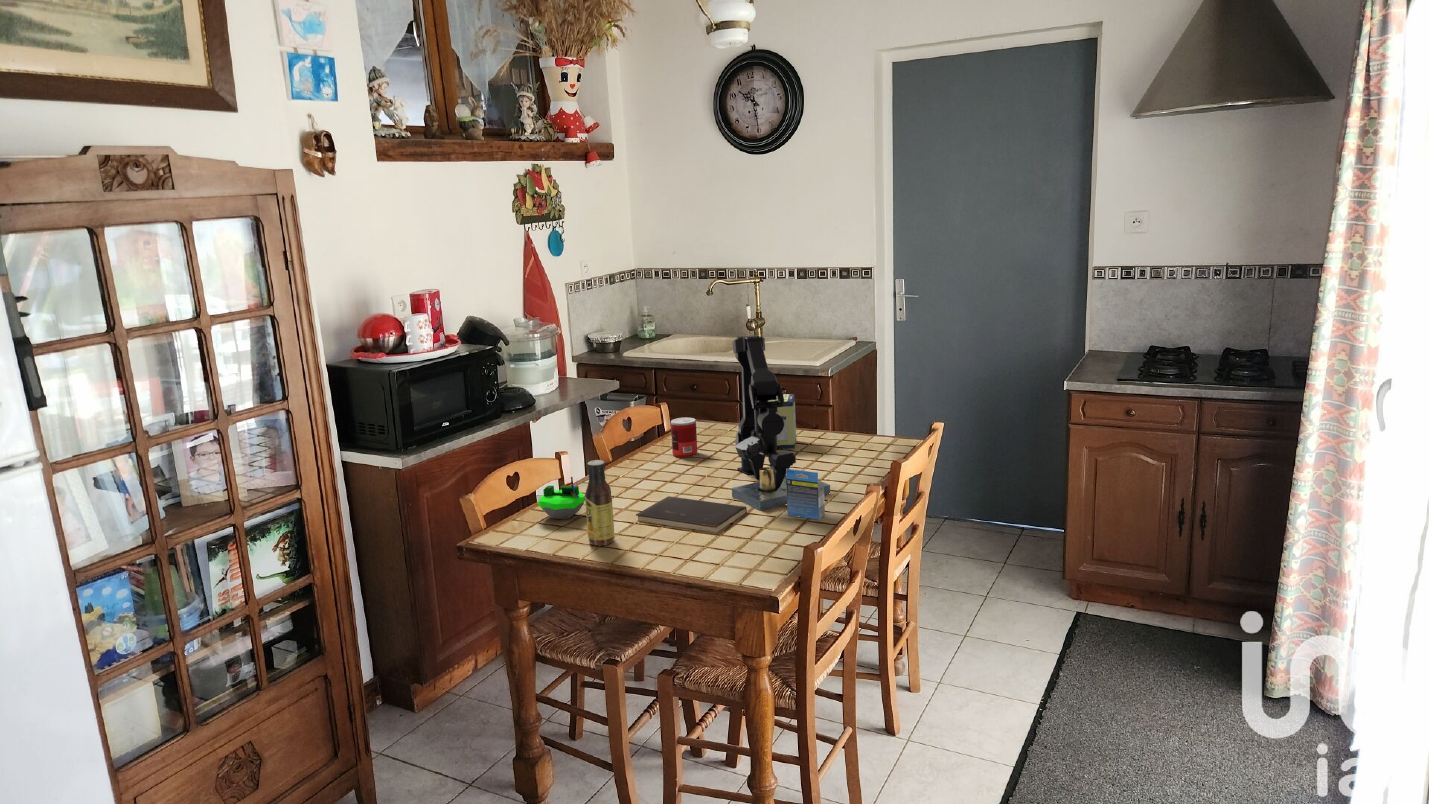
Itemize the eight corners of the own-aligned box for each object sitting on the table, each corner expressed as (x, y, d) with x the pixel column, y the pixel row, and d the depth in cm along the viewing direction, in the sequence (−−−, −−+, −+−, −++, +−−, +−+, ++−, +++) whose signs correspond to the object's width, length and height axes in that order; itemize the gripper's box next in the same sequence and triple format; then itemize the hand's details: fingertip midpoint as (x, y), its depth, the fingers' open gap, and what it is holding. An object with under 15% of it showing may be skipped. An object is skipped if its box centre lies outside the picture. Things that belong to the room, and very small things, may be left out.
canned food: (702, 452, 296) (700, 418, 293) (688, 459, 289) (686, 424, 287) (682, 450, 300) (680, 416, 298) (667, 456, 293) (665, 422, 291)
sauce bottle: (589, 538, 226) (582, 458, 222) (615, 536, 226) (609, 456, 222) (587, 548, 220) (581, 466, 215) (614, 546, 220) (608, 464, 216)
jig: (732, 496, 252) (731, 485, 251) (799, 481, 262) (799, 470, 261) (760, 510, 240) (760, 499, 239) (830, 493, 250) (830, 482, 250)
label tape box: (825, 515, 234) (824, 468, 231) (819, 520, 231) (818, 472, 228) (793, 511, 238) (792, 464, 236) (786, 516, 235) (785, 468, 232)
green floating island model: (592, 511, 246) (589, 470, 244) (576, 525, 235) (573, 483, 233) (548, 509, 249) (545, 469, 247) (531, 524, 238) (528, 481, 235)
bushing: (757, 498, 250) (756, 469, 248) (770, 495, 252) (769, 466, 250) (765, 501, 246) (764, 472, 245) (778, 498, 248) (777, 469, 247)
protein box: (748, 441, 307) (747, 394, 304) (796, 440, 305) (795, 393, 301) (745, 449, 297) (743, 401, 294) (795, 449, 295) (793, 400, 291)
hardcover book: (716, 535, 226) (715, 526, 225) (636, 523, 237) (635, 514, 236) (747, 514, 239) (746, 505, 239) (669, 503, 250) (669, 495, 250)
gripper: (720, 424, 249) (723, 481, 252) (759, 438, 233) (761, 499, 236) (756, 418, 254) (758, 473, 258) (796, 431, 238) (798, 490, 242)
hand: (767, 483), depth 248 cm, fingers open, 9 cm apart
